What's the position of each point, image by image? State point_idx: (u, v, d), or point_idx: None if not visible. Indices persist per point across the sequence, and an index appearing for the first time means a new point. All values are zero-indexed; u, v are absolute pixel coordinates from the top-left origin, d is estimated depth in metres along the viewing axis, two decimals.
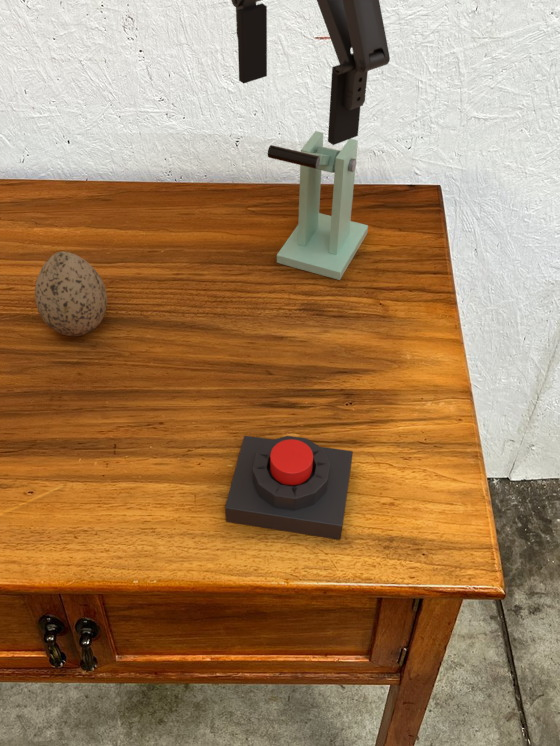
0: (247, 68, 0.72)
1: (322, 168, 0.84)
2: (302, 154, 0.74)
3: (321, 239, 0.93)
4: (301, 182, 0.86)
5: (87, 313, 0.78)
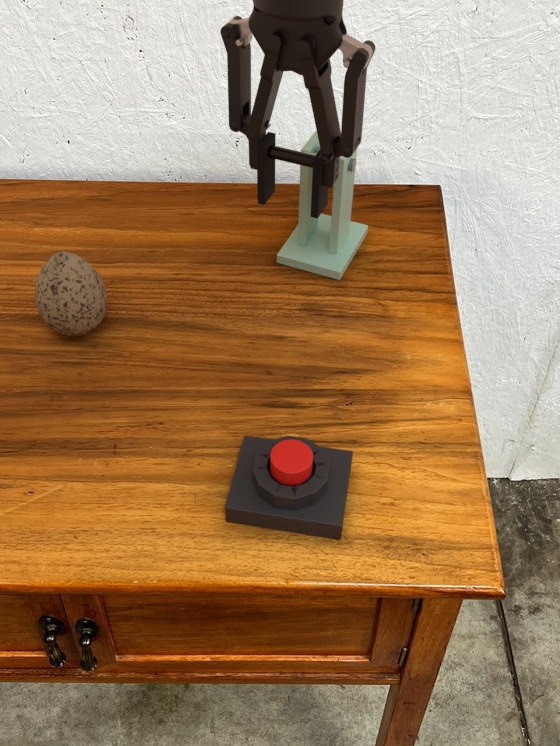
0: (266, 191, 0.77)
1: None
2: (302, 154, 0.74)
3: (321, 239, 0.93)
4: (301, 182, 0.86)
5: (87, 313, 0.78)
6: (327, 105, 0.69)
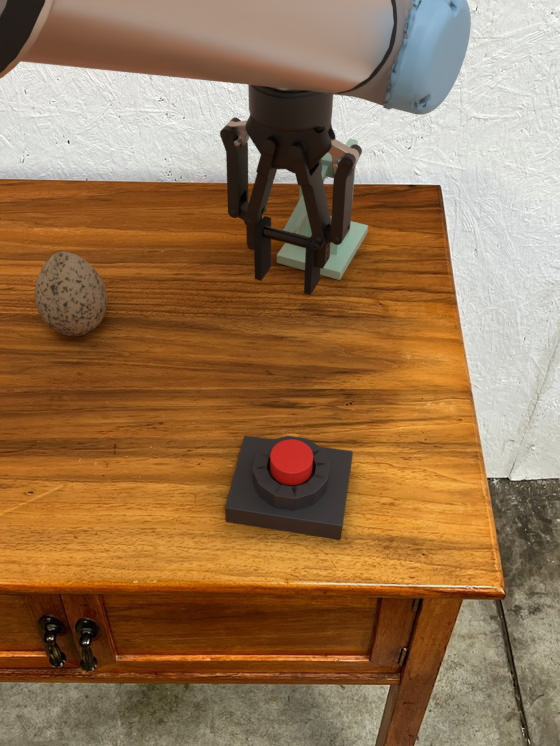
0: (262, 268, 0.83)
1: None
2: (293, 239, 0.79)
3: None
4: None
5: (87, 313, 0.78)
6: (318, 199, 0.75)
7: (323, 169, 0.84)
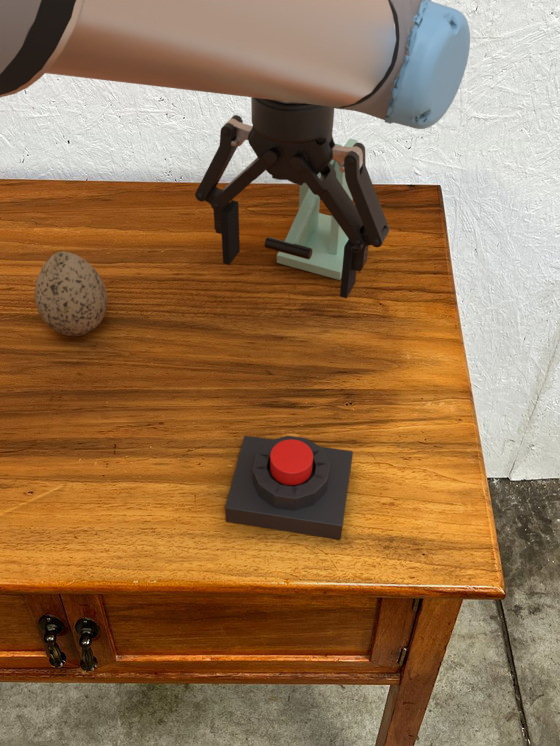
0: (230, 252, 0.84)
1: None
2: (294, 251, 0.80)
3: (321, 239, 0.93)
4: None
5: (87, 313, 0.78)
6: (340, 202, 0.74)
7: None
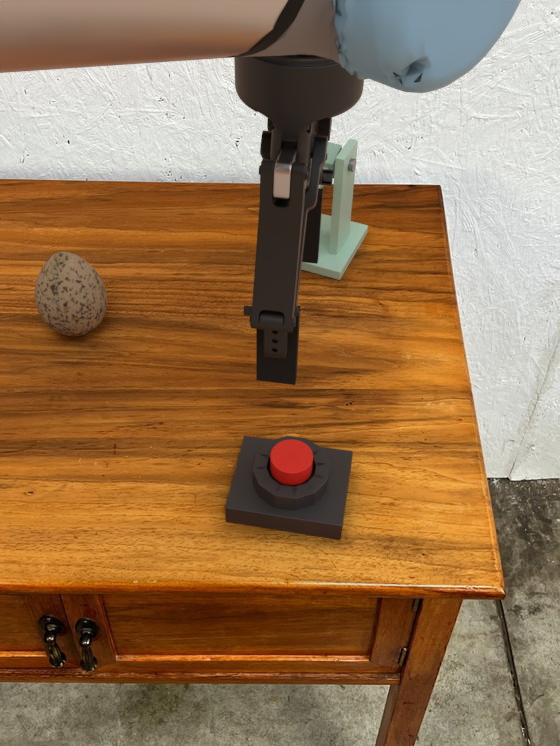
0: None
1: None
2: None
3: (321, 239, 0.93)
4: None
5: (87, 313, 0.78)
6: None
7: None
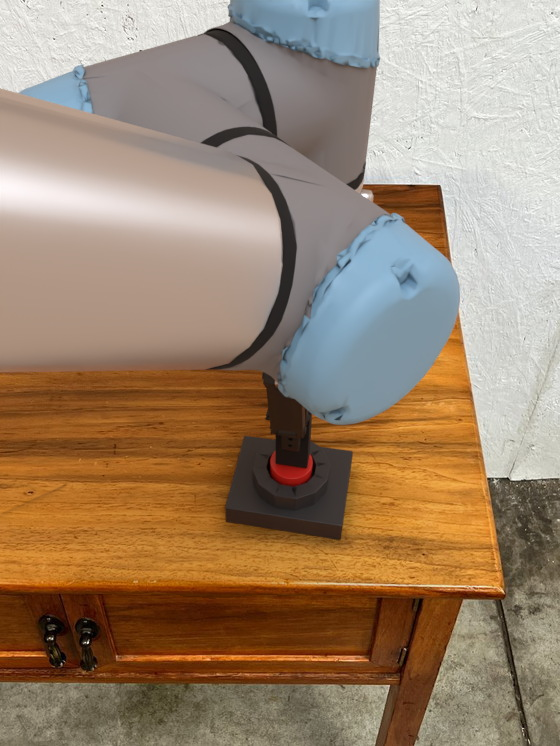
0: None
1: None
2: None
3: None
4: None
5: None
6: None
7: None
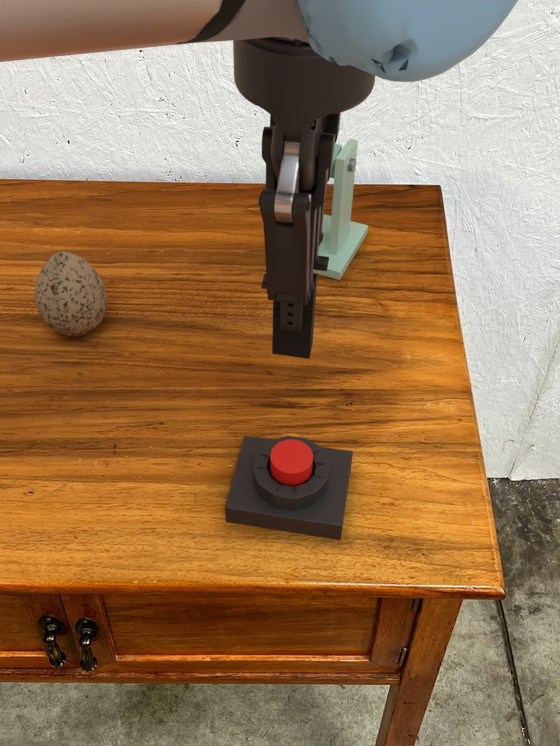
0: None
1: None
2: None
3: None
4: None
5: (87, 313, 0.78)
6: None
7: None
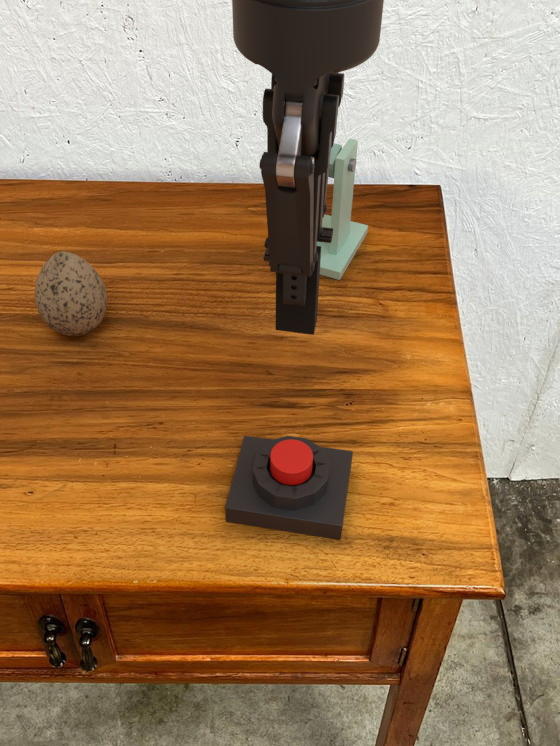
0: None
1: None
2: None
3: None
4: None
5: (87, 313, 0.78)
6: None
7: None
